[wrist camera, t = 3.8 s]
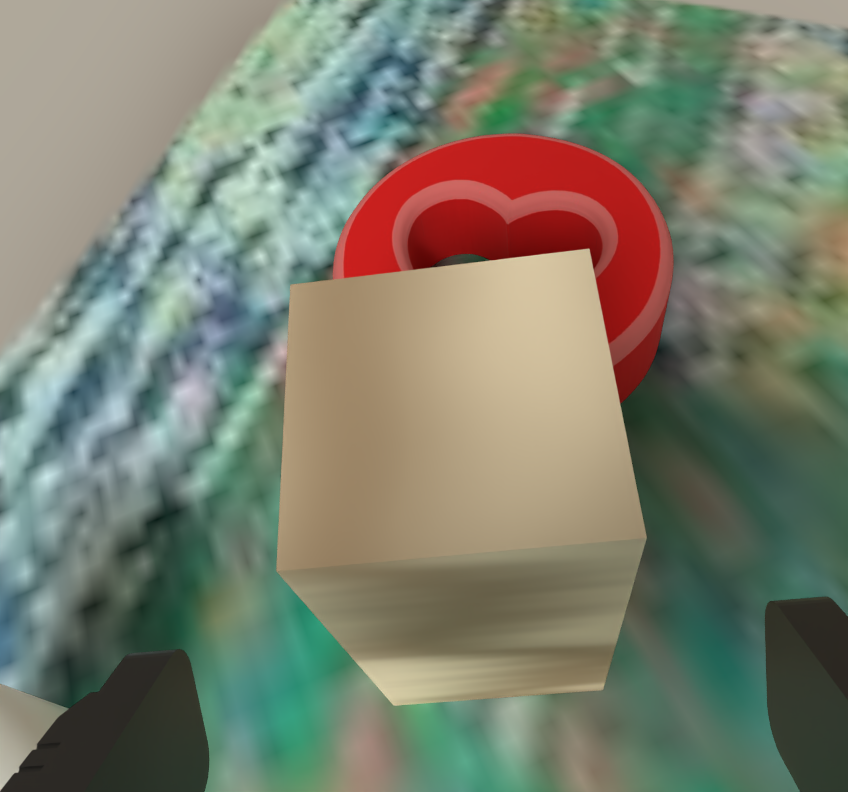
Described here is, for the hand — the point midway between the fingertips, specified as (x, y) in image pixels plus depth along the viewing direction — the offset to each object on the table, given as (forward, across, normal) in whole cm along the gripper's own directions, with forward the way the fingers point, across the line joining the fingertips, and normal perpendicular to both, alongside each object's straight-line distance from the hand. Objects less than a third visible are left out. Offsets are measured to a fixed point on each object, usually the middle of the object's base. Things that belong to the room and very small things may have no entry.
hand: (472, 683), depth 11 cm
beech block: (+9, 0, +3) cm, 10 cm away
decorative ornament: (+16, -1, -3) cm, 16 cm away
